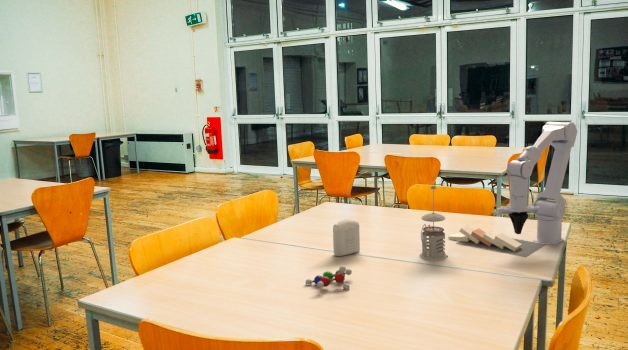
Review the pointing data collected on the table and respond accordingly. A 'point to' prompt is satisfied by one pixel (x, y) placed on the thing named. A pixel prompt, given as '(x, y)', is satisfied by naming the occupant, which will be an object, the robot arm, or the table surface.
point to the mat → (524, 251)
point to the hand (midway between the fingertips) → (517, 233)
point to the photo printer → (346, 237)
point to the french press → (433, 237)
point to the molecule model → (331, 278)
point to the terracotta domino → (479, 234)
